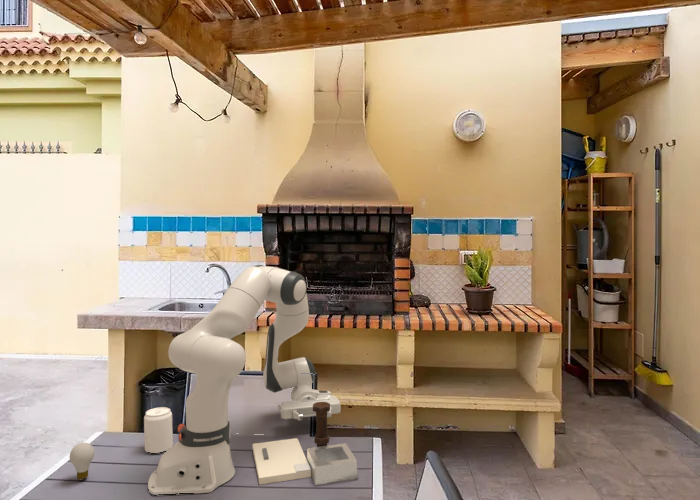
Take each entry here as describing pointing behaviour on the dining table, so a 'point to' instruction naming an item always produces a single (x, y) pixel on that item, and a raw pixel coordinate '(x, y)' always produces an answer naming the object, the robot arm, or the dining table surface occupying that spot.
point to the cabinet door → (280, 461)
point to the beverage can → (158, 430)
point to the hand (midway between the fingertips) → (314, 416)
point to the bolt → (321, 423)
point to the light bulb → (82, 459)
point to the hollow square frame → (332, 464)
